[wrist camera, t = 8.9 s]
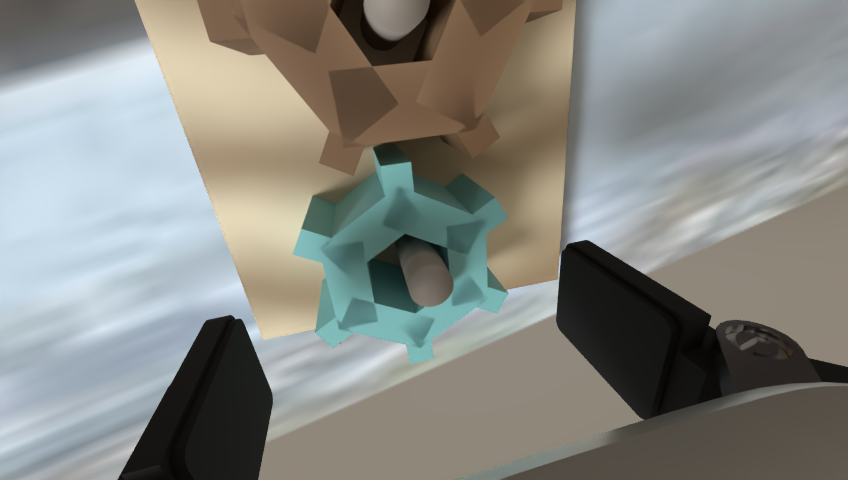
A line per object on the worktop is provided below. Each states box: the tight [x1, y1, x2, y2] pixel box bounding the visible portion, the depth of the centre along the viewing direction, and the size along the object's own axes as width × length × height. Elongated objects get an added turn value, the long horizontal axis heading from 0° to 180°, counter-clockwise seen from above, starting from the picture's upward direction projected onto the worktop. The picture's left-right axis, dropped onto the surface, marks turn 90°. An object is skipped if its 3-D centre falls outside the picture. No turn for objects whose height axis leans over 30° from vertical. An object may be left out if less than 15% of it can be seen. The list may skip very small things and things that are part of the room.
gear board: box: [135, 0, 576, 340], centre depth 14 cm, size 17×16×7 cm
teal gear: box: [292, 145, 509, 364], centre depth 15 cm, size 8×8×4 cm
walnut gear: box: [197, 0, 563, 176], centre depth 11 cm, size 10×9×4 cm
